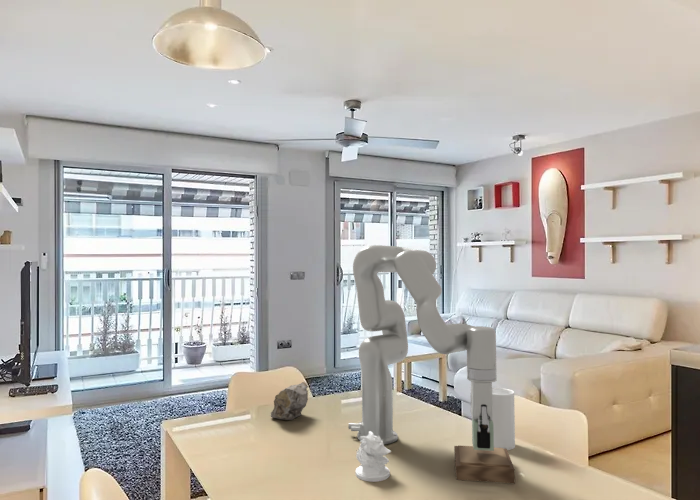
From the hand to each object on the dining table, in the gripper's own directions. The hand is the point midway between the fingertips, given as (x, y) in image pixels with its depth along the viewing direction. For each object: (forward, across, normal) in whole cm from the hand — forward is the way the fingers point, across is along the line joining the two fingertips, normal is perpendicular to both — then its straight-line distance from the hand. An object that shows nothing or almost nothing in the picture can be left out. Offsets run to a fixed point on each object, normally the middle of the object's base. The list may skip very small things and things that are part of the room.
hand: (482, 443), depth 131 cm
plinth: (+7, 0, 0) cm, 7 cm away
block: (+1, 0, 0) cm, 1 cm away
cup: (+7, -20, +7) cm, 22 cm away
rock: (+7, -36, -63) cm, 73 cm away
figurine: (+7, +7, -28) cm, 30 cm away
